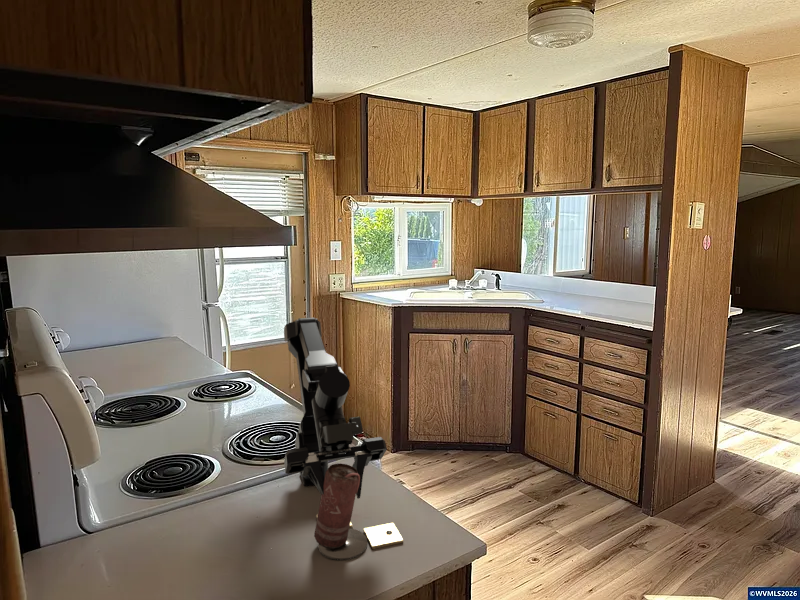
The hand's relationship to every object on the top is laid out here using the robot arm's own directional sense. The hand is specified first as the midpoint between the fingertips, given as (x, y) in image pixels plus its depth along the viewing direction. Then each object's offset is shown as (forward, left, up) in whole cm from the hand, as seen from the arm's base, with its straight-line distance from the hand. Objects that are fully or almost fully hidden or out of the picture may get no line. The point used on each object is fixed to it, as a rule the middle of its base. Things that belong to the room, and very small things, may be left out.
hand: (343, 500), depth 99 cm
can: (-2, -2, -9) cm, 9 cm away
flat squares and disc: (-4, +3, -9) cm, 11 cm away
